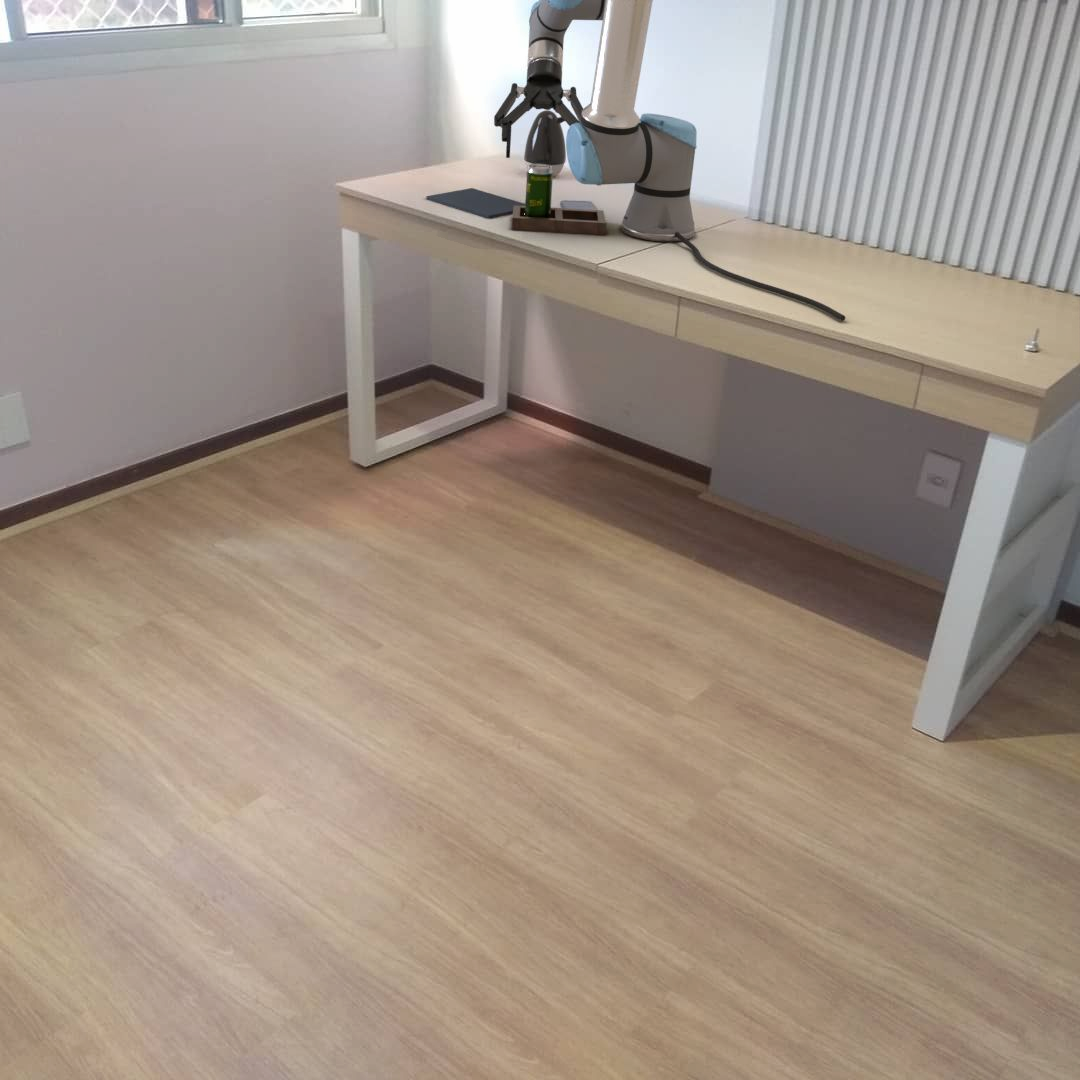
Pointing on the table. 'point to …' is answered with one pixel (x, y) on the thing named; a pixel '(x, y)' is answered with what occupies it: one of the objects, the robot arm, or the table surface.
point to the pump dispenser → (546, 142)
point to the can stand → (561, 221)
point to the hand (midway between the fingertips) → (540, 156)
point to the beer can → (538, 191)
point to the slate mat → (477, 202)
